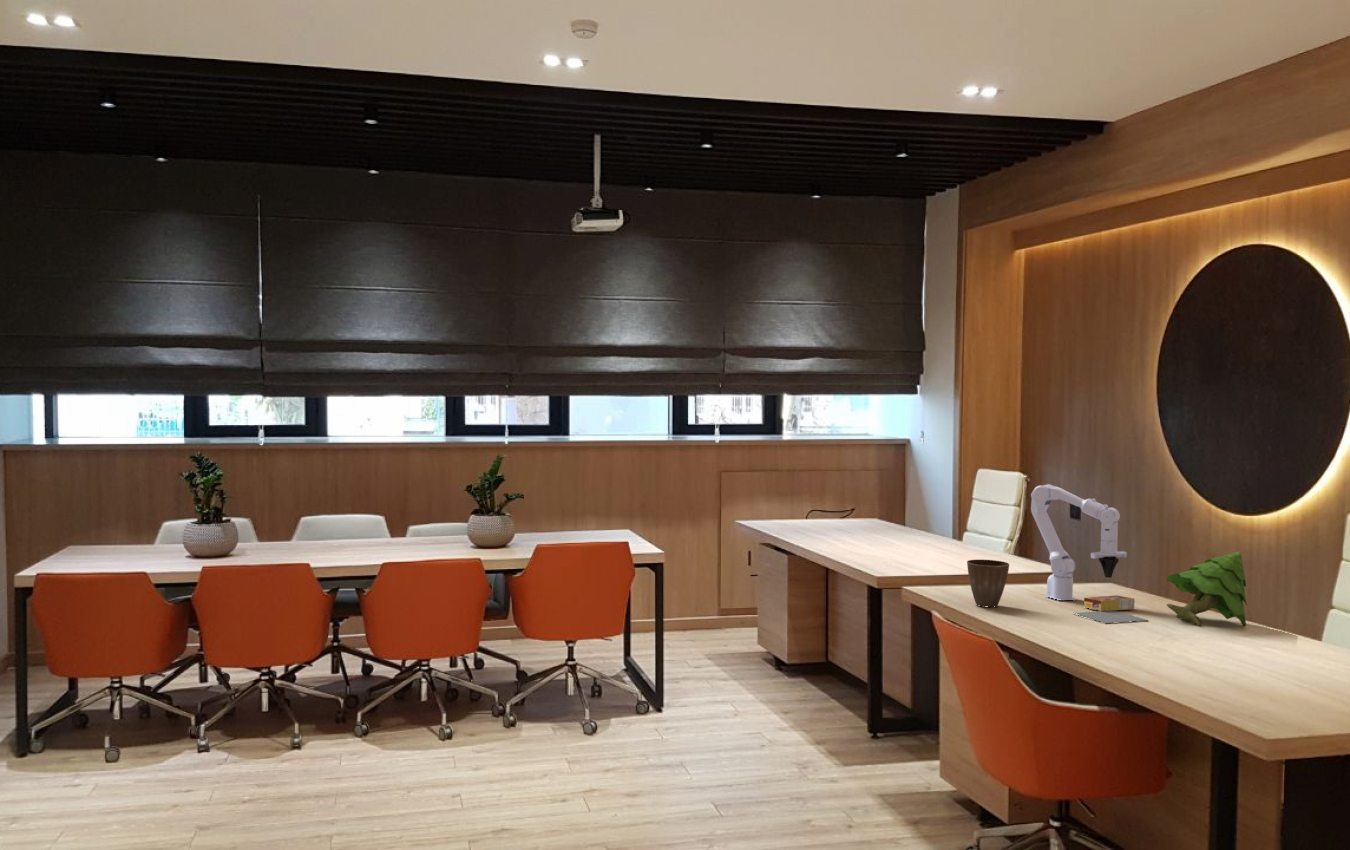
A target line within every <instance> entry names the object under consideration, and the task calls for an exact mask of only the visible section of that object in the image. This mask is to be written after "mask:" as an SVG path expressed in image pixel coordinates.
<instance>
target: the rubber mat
mask: <svg viewBox="0 0 1350 850" xmlns="http://www.w3.org/2000/svg"><path fill="white" fill-rule="evenodd" d="M1074 613H1075V614H1076V613H1077V614H1079V615H1080V616H1083V617H1087V618H1090V619H1093V620H1096V621H1095V622H1097V621H1100V622H1103V623H1114V622H1129V621H1144V622H1149V619H1147V618H1144V617H1143V618H1142V617H1139V616H1136V615H1132V614H1130V613H1129V614H1128V613H1126V612H1125V613H1124V612H1121V611H1119V610H1114V611H1097V610H1096V611H1085V612H1084V611H1081V612H1074ZM1080 616H1079V617H1080ZM1083 617H1082V618H1083ZM1087 618H1086V619H1087ZM1090 619H1089V620H1090ZM1093 620H1092V621H1093ZM1100 622H1099V623H1100ZM1103 623H1102V624H1103ZM1129 623H1130V622H1129ZM1114 624H1115V623H1114Z"/></svg>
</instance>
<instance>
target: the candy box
mask: <svg viewBox="0 0 1350 850" xmlns="http://www.w3.org/2000/svg"><path fill="white" fill-rule="evenodd" d="M1135 601H1136V600H1135V598H1133V597H1128V596H1122V595H1104V596H1103V595H1102V596H1100V595H1099V596H1088V597H1084V598H1083V603H1084V605H1083V606H1084V607H1086V608H1085V609H1087V608H1089V609H1088V610H1093V611H1096V612H1097V611H1125V610H1126V611H1127V610H1128V611H1129V610H1135Z"/></svg>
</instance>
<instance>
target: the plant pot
mask: <svg viewBox="0 0 1350 850" xmlns="http://www.w3.org/2000/svg"><path fill="white" fill-rule="evenodd" d="M966 565H967V573H968V581H969V584H970V589H971V592H972V596H973V599H974V602H975V605H976V604H977V605H981V606H988V607H994V606H997V607H998V606H999V604H1000V601H1001V598H1002V595H1003V593H1004V590H1005V586H1006V583H1007V581H1008V580H1007V579H1008V575H1009V569H1010V563H1009V562H1007V561H1002V560H994V559H970V560H969V559H968V560H967V561H966ZM977 605H976V606H977Z"/></svg>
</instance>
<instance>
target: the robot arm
mask: <svg viewBox="0 0 1350 850" xmlns="http://www.w3.org/2000/svg"><path fill="white" fill-rule="evenodd" d="M1030 497H1031V505H1030V506H1031V507H1030V512H1031V514H1032V517H1033V519H1034V521H1035V523H1036V526H1037V527H1038V530H1039V532H1040V534H1041V537H1042V538H1043V541H1044V543H1045V545H1046V548H1047V550H1048V552H1049V561H1050V570H1051V572H1052V574H1050V575H1049V576H1048V577H1047V581H1046V595H1045V596H1046V597H1045V598H1048V597H1050V598H1049V599H1051V598H1054V599H1053V600H1055V599H1057V600H1056V601H1058V600H1059V599H1061V600H1073V601H1077V600H1076V599H1077V598H1076V597H1074V595H1073V594H1074V593H1073V591H1074V590H1073V589H1074V588H1073V587H1074V571H1075V570H1076V562H1075V560H1074V559H1072V558H1071V557H1070V555H1069V553H1068V552H1067V551H1066V550H1065V549H1064V547H1063V545H1062V542H1061V540H1060V538H1059V536H1058V534H1057V532H1056V530H1055V528H1054V525H1053V523H1052V520H1051V518H1050V516H1049V514H1048V512H1047V510H1048V509H1049V507H1050V504H1051V503H1053V501H1055V500H1061V501H1063V502H1066V503H1068V504H1071V505H1074V506H1075V507H1078V508H1080V510H1081V512H1082V513H1084V514H1086V515H1088V516H1090V517H1092V518H1095V519H1097V520H1099V522H1101V525H1100V527H1101V528H1100V551H1095V552H1090V559H1095V560H1096V559H1098V561H1099V563H1100V564H1101V567H1102V569H1103V574H1104V577H1105V578H1108V579H1109V578H1112V577H1113V573H1114V570H1115V568H1116V566H1117V564H1118V563H1119V562H1120V561H1119V559H1120V558H1127V553H1128V552H1127V551H1118V537H1119V536H1118V534H1119V533H1118V526H1119V525H1118V523H1119V522H1118V521H1120V518H1121V514H1120V512H1119V510H1118V509H1117V508H1115V507H1109V505H1108V504H1103V503H1100V502H1098V501H1097V499H1095V498H1086V499H1084V498H1081V497H1079V496H1077V495H1075V494H1073V493H1071V492H1069V491H1067V490H1065V489H1063V488H1061V487H1059V486H1056V485H1053V484H1049V483H1047V484H1043V485H1037V486H1035V487H1034V489H1033V490H1032V492H1031V494H1030Z"/></svg>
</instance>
